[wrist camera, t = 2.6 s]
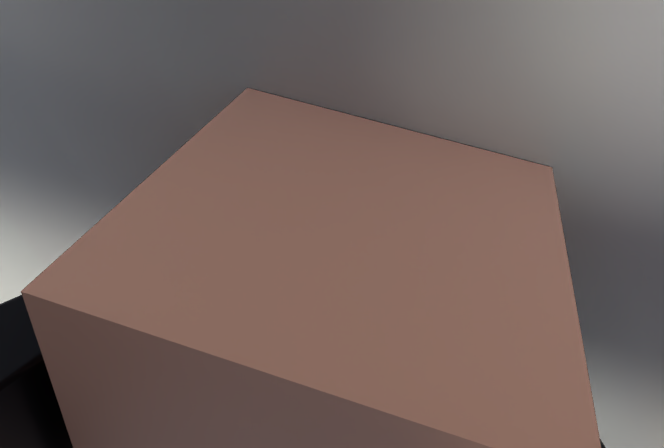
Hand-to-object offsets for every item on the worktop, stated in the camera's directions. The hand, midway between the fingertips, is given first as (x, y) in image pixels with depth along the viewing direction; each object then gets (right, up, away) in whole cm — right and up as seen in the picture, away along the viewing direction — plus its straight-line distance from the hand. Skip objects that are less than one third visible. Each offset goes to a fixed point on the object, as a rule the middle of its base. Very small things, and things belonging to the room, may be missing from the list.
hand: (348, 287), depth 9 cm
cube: (0, +1, +1) cm, 1 cm away
